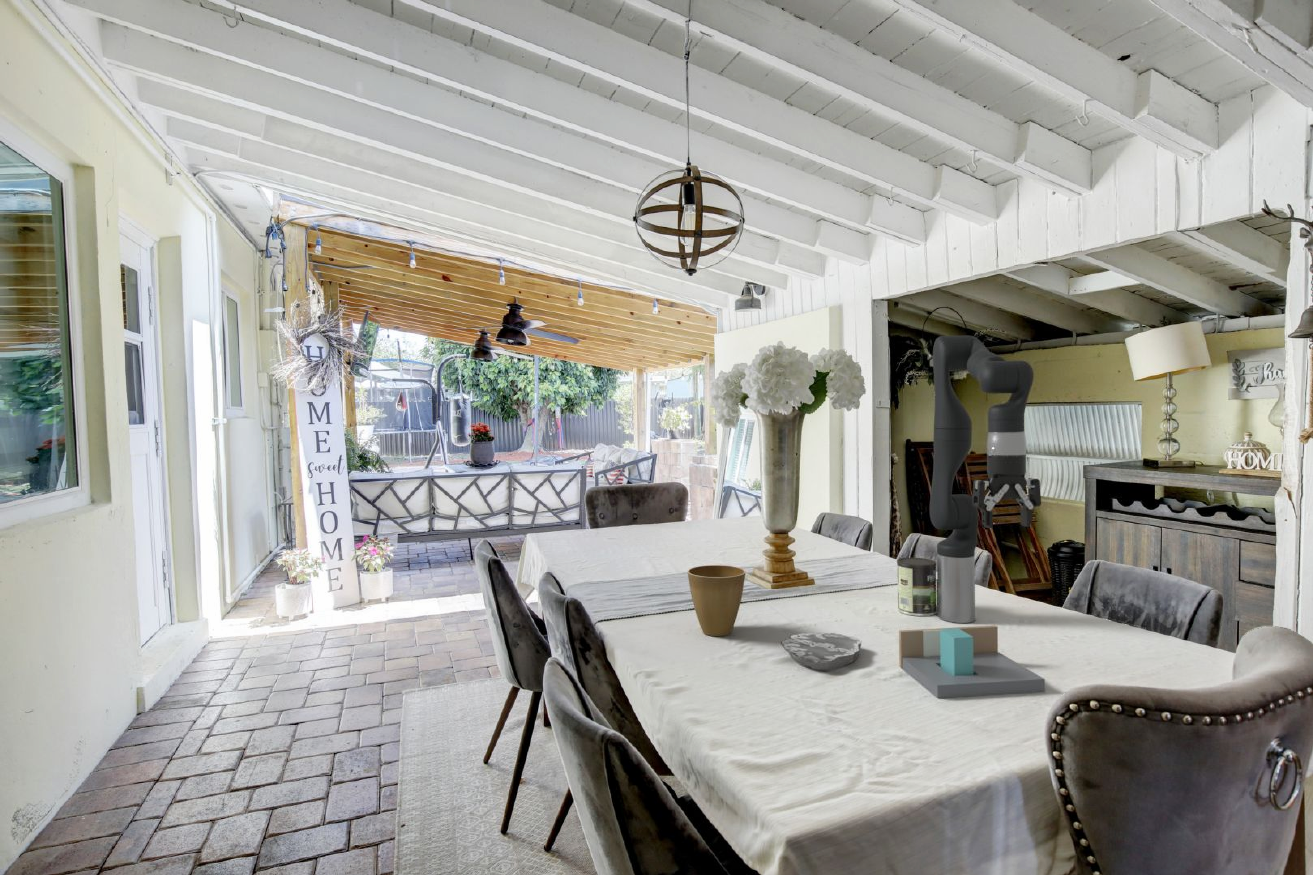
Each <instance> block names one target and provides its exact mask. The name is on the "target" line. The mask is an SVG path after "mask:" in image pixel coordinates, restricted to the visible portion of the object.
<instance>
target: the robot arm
mask: <svg viewBox="0 0 1313 875" xmlns="http://www.w3.org/2000/svg"><path fill="white" fill-rule="evenodd" d="M932 359H933V360H932V364H933V365H932V368H933V381H934V382H933V383H934V384H933V385H934V386H933V387H934V414H933V415H934V416H933V466H932V467H933V469H932V470H933V472H932V481H931V491H930V499H929V517H930V521H931V524H932V525H933V527H934V528H935V529H937V530H939V531H947V530H948V531H951V530H952V533H951V534H950V535H949V536H948V537H947V538H944V539H943V540H941V541H939V542H938V543H937V545H936V611H937V613H936V614H937V617H938V619H941V620H942V621H945V622H950V623H958V624H959V623H961V624H966V623H967V624H968V623H969V624H970V623H973V622H975V621H976V578H975V577H976V572H975V571H976V568H975V567H976V566H975V564H976V563H975V562H976V560H975V553H976V552H975V551H976V548H977V545H978V531H979V530H978V527H979V509H980V510H981V524H982V525H983V527H984V528H987V529H993V527H994V526H993V525H994V524H993V523H994V520H993V517H994V515H993V514H994V513H993V511H992V510H993V508H994V507H995V505H996V504H998V503H999V502H1000V501H1005V500H1015V501H1016V502H1017V503H1018V504H1019V505H1020V525H1021V526H1022V527H1026V528H1027V527H1028V528H1029V527H1030V526H1031V524H1032V522H1033V508H1036V507H1040V506H1041V505H1042V497H1041V496H1042V495H1041V494H1042V493H1041V482H1040V479H1039V478H1035V477H1034V478H1032V477H1029V478H1027V479H1026V477H1025V476H1026V473H1027V442H1026V436H1025V413H1026V409H1027V408H1026V407H1027V403H1028V398H1029V396H1030V392H1031V389H1032V387H1033V383H1034V375H1035V374H1034V370H1033V368H1032V365H1031V364H1030V363H1029V362H1028V361H1025V360H1020V359H1019V360H1006V359H1005V358H1003V357H1002V356H1000V355H998V354H995V353H994V352H991V351H989V349H988V348H987V347H986V346H985V344H984V343H983V342H982V341H981V340H980V339H978V338H977V337H975V336H973V335H942V336H940V335H939V336H938V337H937V338H936V339H935V341H934V345H933V349H932ZM966 371H967V372H968V374H969V375H970V376H971V378H973V379H974V380H976V381H978V384H979V387H980V390H982V392H984V393H986V394H1010V397H1009V399H1008V400H1007V401H1006V402H1003V403H999V404H995V405H992V406H990V407H989V408H988V410H987V441H986V472H987V479H986V480H980V479H974V480H973V485H972V486H973V487H972V496H971V495H969V494H962V493H961V494H959V493H958V494H952V493H953V484H954V481H955V476H956V474H957V473H958V470H959V469H960V467H961V466H962V465H963V463H964V462H965V459H966V458H967V456H968V455H969V452H970V450H971V448H972V438H973V437H972V436H973V435H972V434H973V432H972V431H973V429H972V428H973V423H972V419H971V416H970V415H969V413H968V411H967V409H966V408H965V407H964V405H963V404H962V402H961V400H960V399H959V397H958V396H957V395H956V392H955V391H954V389H953V386H952V382H951V376H950V372H966ZM1025 488H1027V494H1028V495H1027V494H1026V492H1025V491H1024V490H1025ZM987 489H988V492H987V493H986V490H987ZM985 493H986V495H985Z"/></svg>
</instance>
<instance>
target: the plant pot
mask: <svg viewBox="0 0 1313 875" xmlns="http://www.w3.org/2000/svg"><path fill="white" fill-rule="evenodd" d="M687 578H688V584H689V585H688V586H689V590H690V595H691V600H692V603H693V607H694V611H695V614H696V618H697V620H698V623H699V626H700V629H701V631H702V633H703V634H704V633H705V634H704V635H706V636H710V637H725V636H728V635H731V633H732V632H733V629H734V626H735V622H736V620H737V617H738V613H739V609H740V606H741V601H742V597H743V591H744V586H745V581H746V580H745V578H746V570H745V569H743V568H742V567H737V566H732V565H722V564H721V565H719V564H712V565H711V564H710V565H708V564H706V565H701V566H694V567H691V568H689V569H688V570H687Z"/></svg>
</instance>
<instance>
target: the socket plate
mask: <svg viewBox="0 0 1313 875" xmlns="http://www.w3.org/2000/svg"><path fill="white" fill-rule="evenodd" d="M998 627H999V626H996V625H979V626H977V625H976V626H975V625H974V626H961V627H960V626H959V627H958V626H957V627H939V628H925V629H924V628H922V629H921V628H920V629H918V628H917V629H902V630H898V651H899V652H898V654H899V658H898V659H899V660H898V661H899V663H898V664H899V665H898V666H899V668H901V669H902V671H904V672H905V674H906V673H907V675H909V676H910V677H911V678H913V680H915V682H917V683H919V685H921V686H922V687H923V688H924V689H926V690H927V691H928V692H929V693H931V695H933V696H934V697H936V698H937V699H945V698H949V699H950V698H959V697H960V698H961V697H962V698H963V697H976V696H977V697H978V696H992V695H993V696H994V695H996V696H997V695H1008V694H1009V695H1011V694H1014V695H1015V694H1027V693H1040V692H1041V693H1043V692H1044V693H1045V690H1046V681H1045V678H1044V677H1042V676H1040V675H1038V674H1037V673H1035V672H1034V671H1032V670H1030V669H1028V668H1026V667H1025V666H1023V665H1021V664H1019V663H1018V662H1017V661H1014V660H1013V659H1012V658H1010V657H1008V656H1006V655H1005V654H1003V653H1001V652H999V650H998V649H999V645H998V644H999V643H998V642H999V640H998V639H999V637H998V636H999V635H998V633H999V632H998ZM956 628H959V629H960V630H962V631H964V632H966V633H967V634H969V635H971V636H972V637H973V675H961V676H952V675H950V674H949V673H948V672H946V671H945V670H944V669H942V668H941V652H940V629H956Z"/></svg>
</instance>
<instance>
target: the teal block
mask: <svg viewBox="0 0 1313 875" xmlns="http://www.w3.org/2000/svg"><path fill="white" fill-rule="evenodd" d="M955 628H956V627H955ZM940 652H941V668H942V669H944V670H945V671H946V672H948V673H949V674H950V675H952V676H961V675H973V637H972V636H971V635H969V634H967V633H966V632H964V631H962V630H960V629H959V628H956V629H940Z"/></svg>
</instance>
